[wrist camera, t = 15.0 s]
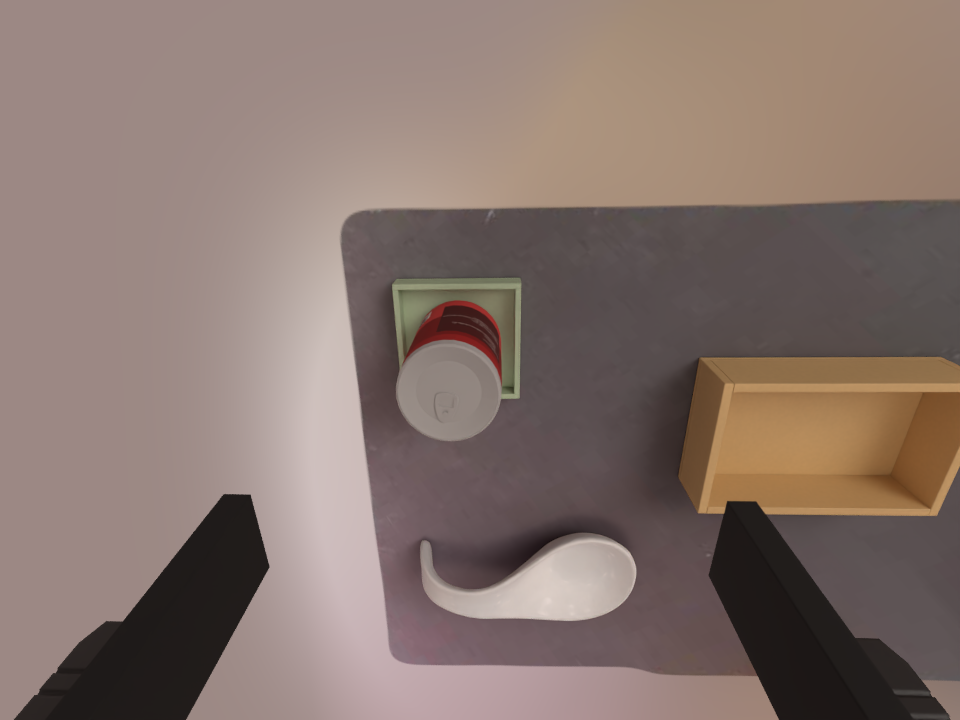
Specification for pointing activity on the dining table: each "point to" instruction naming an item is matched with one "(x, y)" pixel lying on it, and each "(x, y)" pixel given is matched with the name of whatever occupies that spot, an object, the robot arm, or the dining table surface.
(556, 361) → the dining table surface
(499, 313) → the tray
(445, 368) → the canned food
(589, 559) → the spoon rest
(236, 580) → the robot arm
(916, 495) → the open wooden box
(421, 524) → the dining table surface
